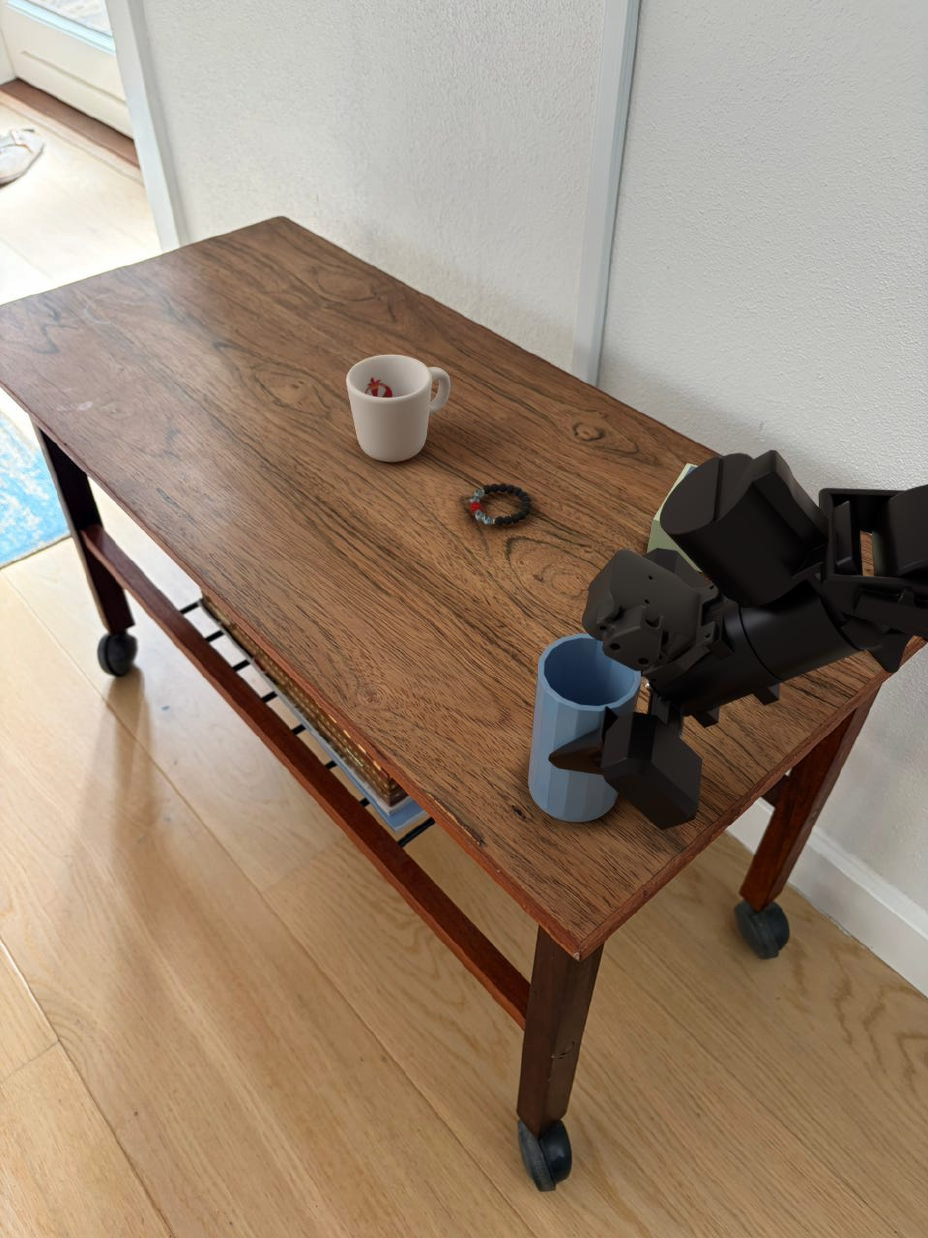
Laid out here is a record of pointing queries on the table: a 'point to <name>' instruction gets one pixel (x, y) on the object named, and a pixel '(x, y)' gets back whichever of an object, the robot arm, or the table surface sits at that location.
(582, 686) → the blue hollow cylinder
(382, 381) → the cup
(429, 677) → the table surface
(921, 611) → the robot arm
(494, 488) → the bracelet
